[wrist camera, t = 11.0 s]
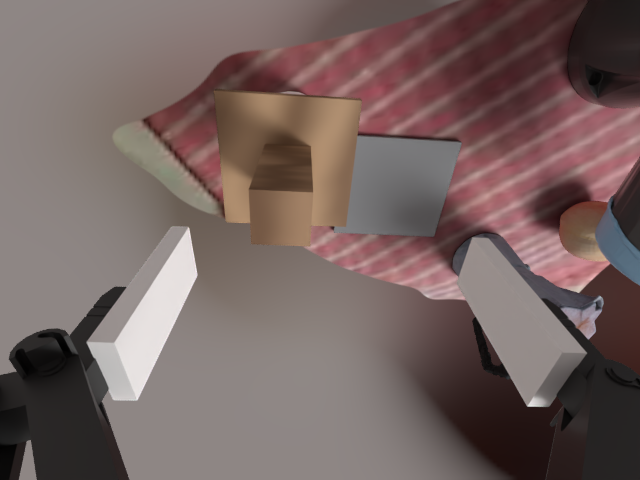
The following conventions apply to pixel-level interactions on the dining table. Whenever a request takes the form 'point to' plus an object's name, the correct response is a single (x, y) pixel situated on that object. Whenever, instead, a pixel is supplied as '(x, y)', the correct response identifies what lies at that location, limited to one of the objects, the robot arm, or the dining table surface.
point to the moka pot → (571, 303)
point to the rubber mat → (399, 185)
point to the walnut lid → (286, 161)
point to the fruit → (582, 229)
